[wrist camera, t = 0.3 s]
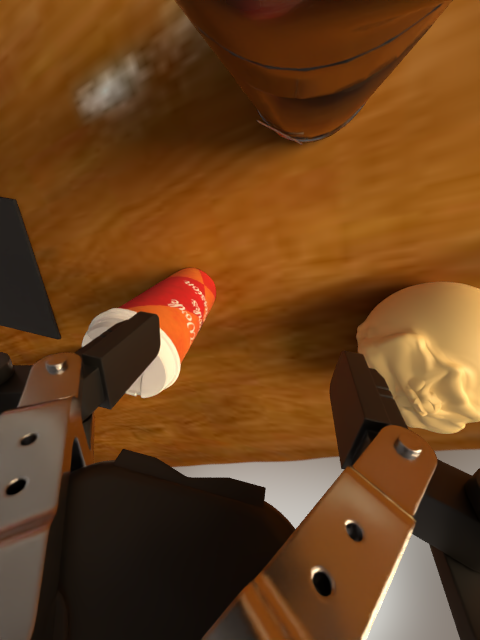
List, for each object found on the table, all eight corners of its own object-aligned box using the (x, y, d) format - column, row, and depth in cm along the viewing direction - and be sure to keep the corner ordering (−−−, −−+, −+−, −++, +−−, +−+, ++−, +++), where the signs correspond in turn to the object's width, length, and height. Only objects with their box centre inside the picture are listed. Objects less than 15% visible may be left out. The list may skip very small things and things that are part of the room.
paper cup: (222, 323, 32) (174, 412, 20) (165, 311, 33) (87, 389, 21) (227, 263, 28) (170, 331, 16) (162, 251, 29) (62, 307, 17)
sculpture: (330, 307, 28) (342, 373, 19) (459, 245, 22) (566, 296, 13) (375, 379, 31) (404, 465, 22) (497, 340, 26) (603, 433, 16)
